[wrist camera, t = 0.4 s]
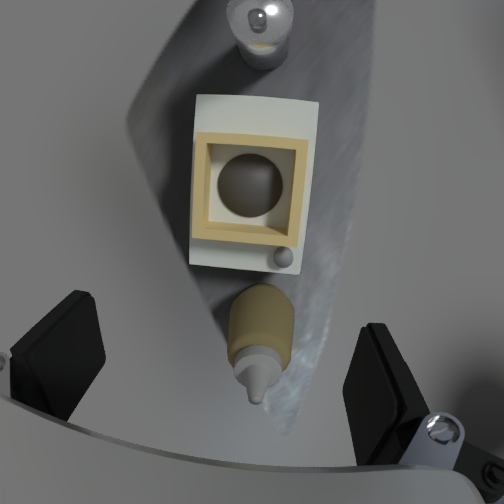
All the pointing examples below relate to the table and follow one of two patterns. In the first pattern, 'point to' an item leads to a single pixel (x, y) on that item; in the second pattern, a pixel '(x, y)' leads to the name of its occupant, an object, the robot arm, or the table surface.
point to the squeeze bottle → (260, 338)
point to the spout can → (261, 30)
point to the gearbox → (251, 181)
